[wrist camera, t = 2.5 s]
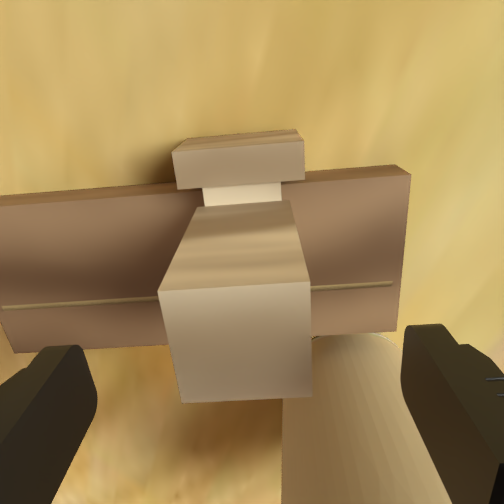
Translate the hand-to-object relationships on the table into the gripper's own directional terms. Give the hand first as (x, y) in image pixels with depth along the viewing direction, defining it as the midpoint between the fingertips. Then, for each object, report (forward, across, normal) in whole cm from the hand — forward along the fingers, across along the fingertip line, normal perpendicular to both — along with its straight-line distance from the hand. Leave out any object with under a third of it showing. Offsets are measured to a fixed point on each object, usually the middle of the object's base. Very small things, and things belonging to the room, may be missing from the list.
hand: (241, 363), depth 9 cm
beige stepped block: (+10, 0, 0) cm, 10 cm away
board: (+10, +3, +2) cm, 11 cm away
